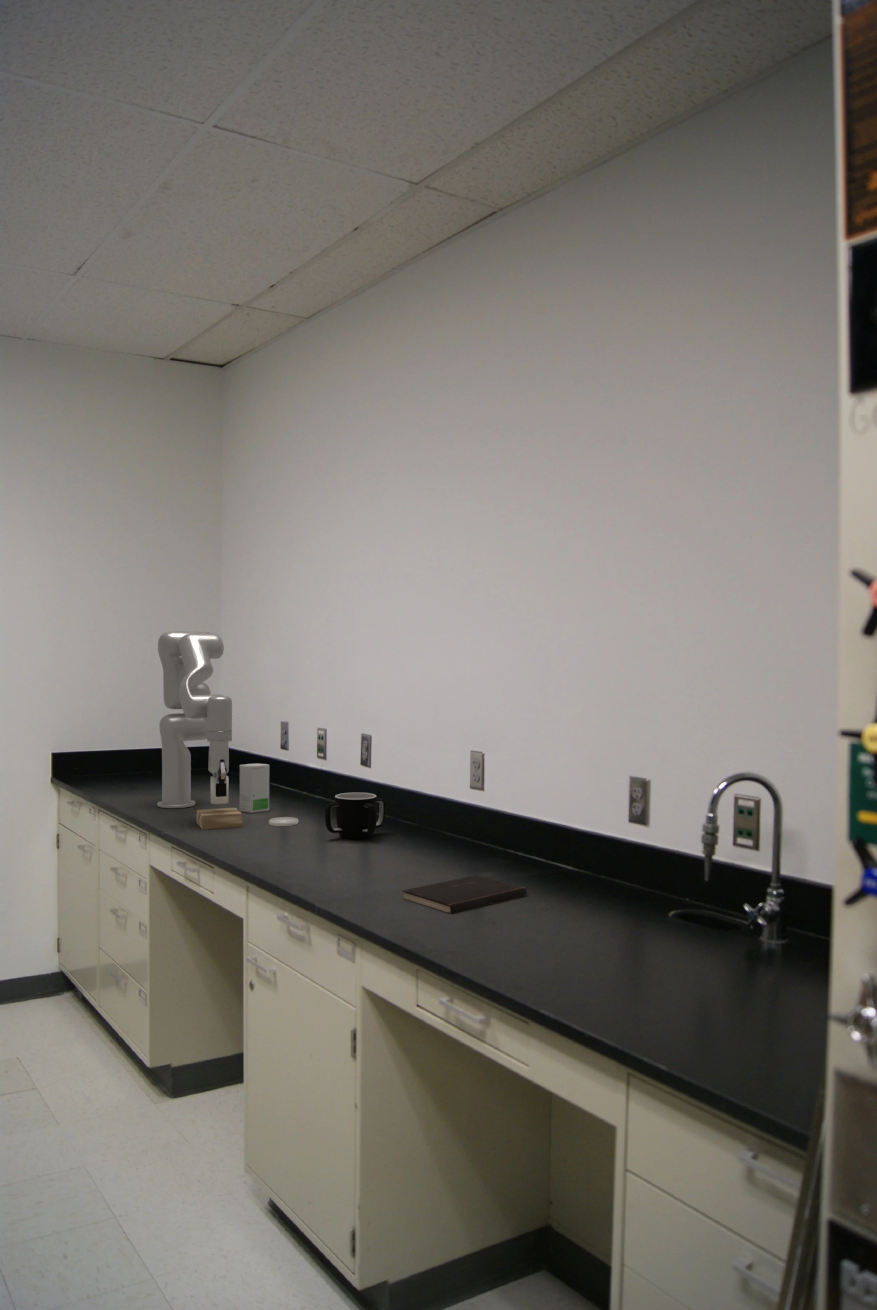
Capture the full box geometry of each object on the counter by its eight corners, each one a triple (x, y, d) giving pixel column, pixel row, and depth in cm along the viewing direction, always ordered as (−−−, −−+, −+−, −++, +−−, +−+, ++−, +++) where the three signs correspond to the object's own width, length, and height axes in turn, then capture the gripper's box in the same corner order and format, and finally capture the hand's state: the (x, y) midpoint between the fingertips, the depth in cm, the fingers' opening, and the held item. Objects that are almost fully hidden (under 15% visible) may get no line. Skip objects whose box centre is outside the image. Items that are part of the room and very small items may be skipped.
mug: (390, 833, 288) (391, 792, 288) (372, 843, 273) (373, 801, 272) (339, 829, 292) (339, 790, 292) (318, 840, 277) (318, 798, 277)
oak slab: (196, 822, 303) (196, 809, 303) (235, 820, 307) (235, 807, 307) (202, 829, 292) (202, 816, 292) (242, 826, 296) (242, 813, 296)
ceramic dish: (266, 822, 304) (266, 818, 304) (294, 820, 308) (294, 816, 308) (272, 827, 296) (272, 823, 296) (301, 825, 299) (301, 821, 299)
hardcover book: (402, 900, 215) (402, 890, 215) (477, 884, 230) (477, 874, 230) (450, 916, 203) (450, 905, 203) (526, 898, 218) (526, 887, 218)
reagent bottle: (209, 801, 301) (209, 772, 301) (226, 800, 303) (226, 771, 303) (212, 804, 296) (212, 774, 296) (229, 803, 298) (229, 773, 298)
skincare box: (251, 813, 319) (251, 766, 319) (237, 811, 323) (238, 764, 323) (270, 810, 326) (270, 763, 326) (256, 808, 330) (257, 762, 330)
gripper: (202, 734, 306) (202, 791, 306) (211, 739, 290) (211, 799, 290) (227, 733, 308) (226, 790, 309) (236, 738, 293) (236, 798, 293)
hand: (219, 794), depth 299 cm, fingers closed on reagent bottle, 5 cm apart
